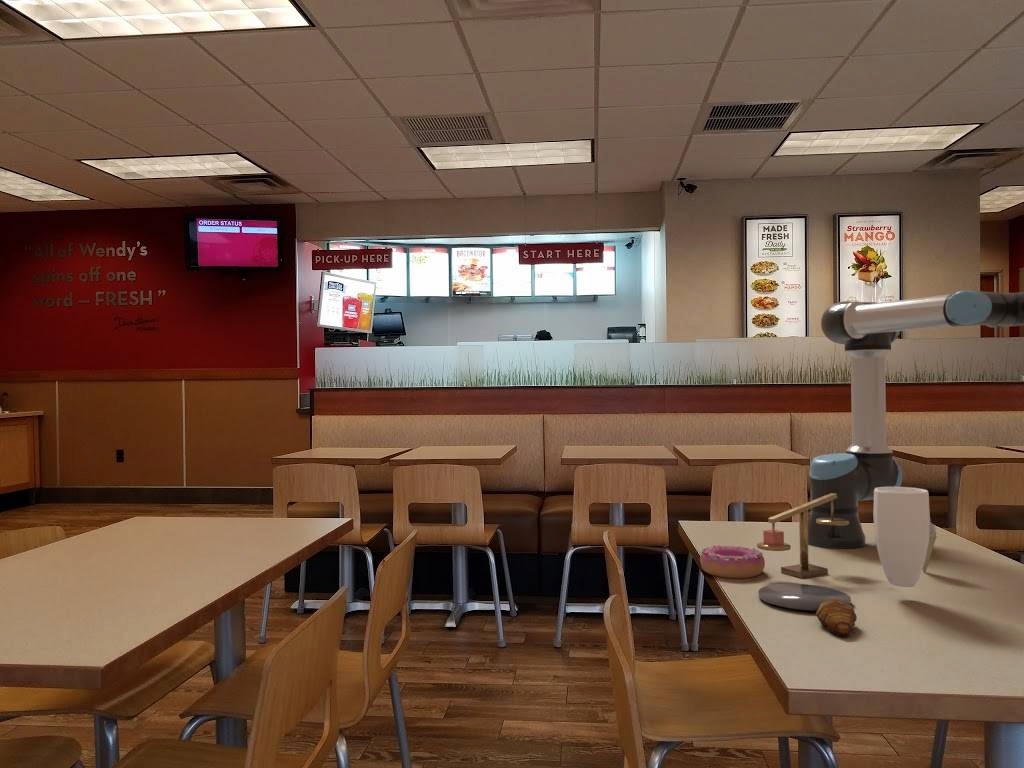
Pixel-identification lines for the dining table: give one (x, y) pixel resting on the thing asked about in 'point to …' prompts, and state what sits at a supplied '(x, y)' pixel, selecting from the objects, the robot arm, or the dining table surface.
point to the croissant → (837, 617)
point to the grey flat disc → (801, 595)
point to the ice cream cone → (930, 545)
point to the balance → (776, 538)
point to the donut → (732, 561)
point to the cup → (901, 532)
